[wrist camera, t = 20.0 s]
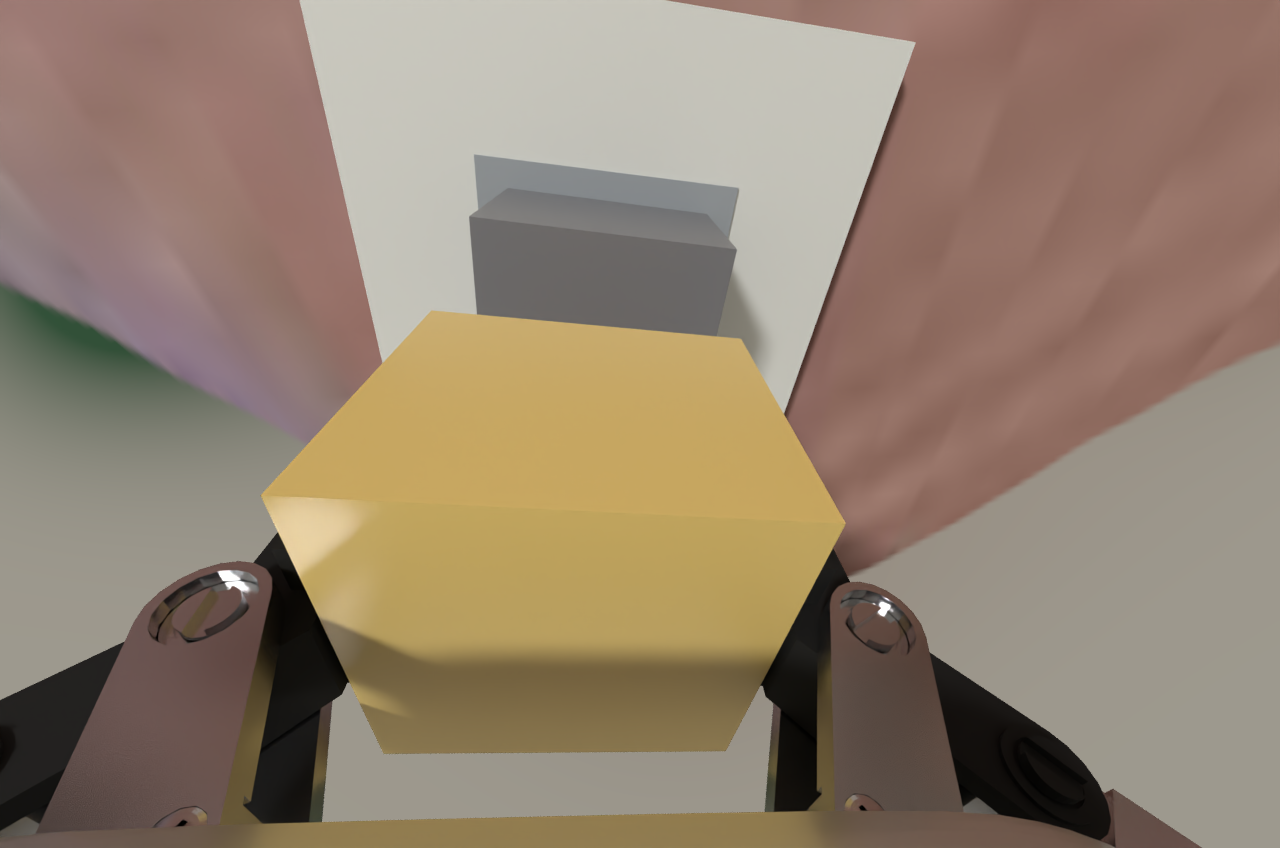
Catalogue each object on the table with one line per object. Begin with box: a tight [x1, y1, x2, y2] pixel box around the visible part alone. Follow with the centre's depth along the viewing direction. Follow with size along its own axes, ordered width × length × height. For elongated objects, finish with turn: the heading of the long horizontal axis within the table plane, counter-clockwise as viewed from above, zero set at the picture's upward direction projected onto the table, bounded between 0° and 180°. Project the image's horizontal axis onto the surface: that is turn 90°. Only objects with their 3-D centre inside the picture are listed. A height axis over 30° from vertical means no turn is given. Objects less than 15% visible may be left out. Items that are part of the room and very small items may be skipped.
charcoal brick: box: [469, 188, 737, 336], centre depth 16 cm, size 7×7×5 cm
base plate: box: [300, 0, 916, 414], centre depth 18 cm, size 18×18×1 cm
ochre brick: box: [261, 310, 846, 754], centre depth 8 cm, size 6×6×5 cm
